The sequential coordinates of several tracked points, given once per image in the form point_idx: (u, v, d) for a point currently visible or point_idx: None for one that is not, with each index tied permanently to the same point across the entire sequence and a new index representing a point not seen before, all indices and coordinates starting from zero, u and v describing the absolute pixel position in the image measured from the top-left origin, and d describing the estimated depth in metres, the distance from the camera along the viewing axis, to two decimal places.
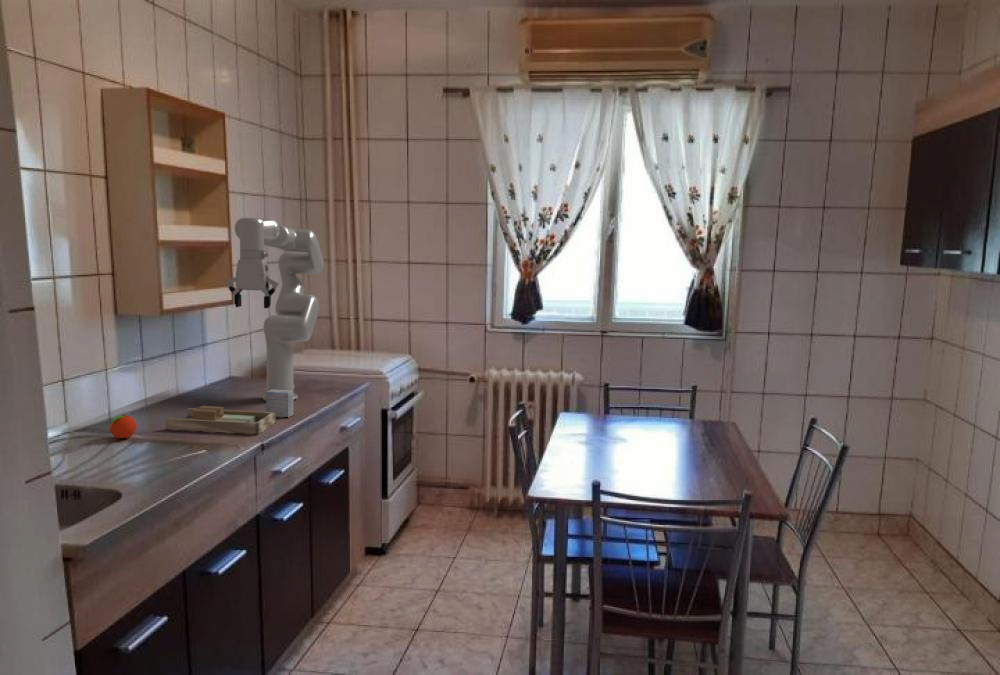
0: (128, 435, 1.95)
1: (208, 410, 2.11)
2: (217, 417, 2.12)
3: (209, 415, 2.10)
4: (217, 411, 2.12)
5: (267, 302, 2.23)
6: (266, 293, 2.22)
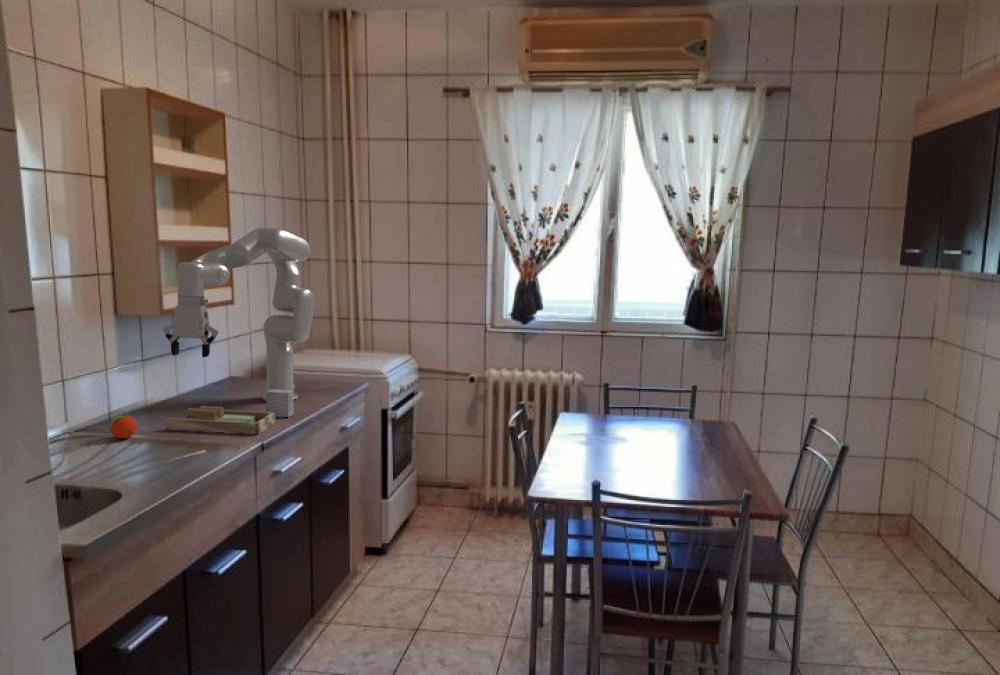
0: (128, 435, 1.95)
1: (208, 410, 2.11)
2: (217, 417, 2.12)
3: (209, 415, 2.10)
4: (217, 411, 2.12)
5: (206, 351, 2.11)
6: (205, 341, 2.11)
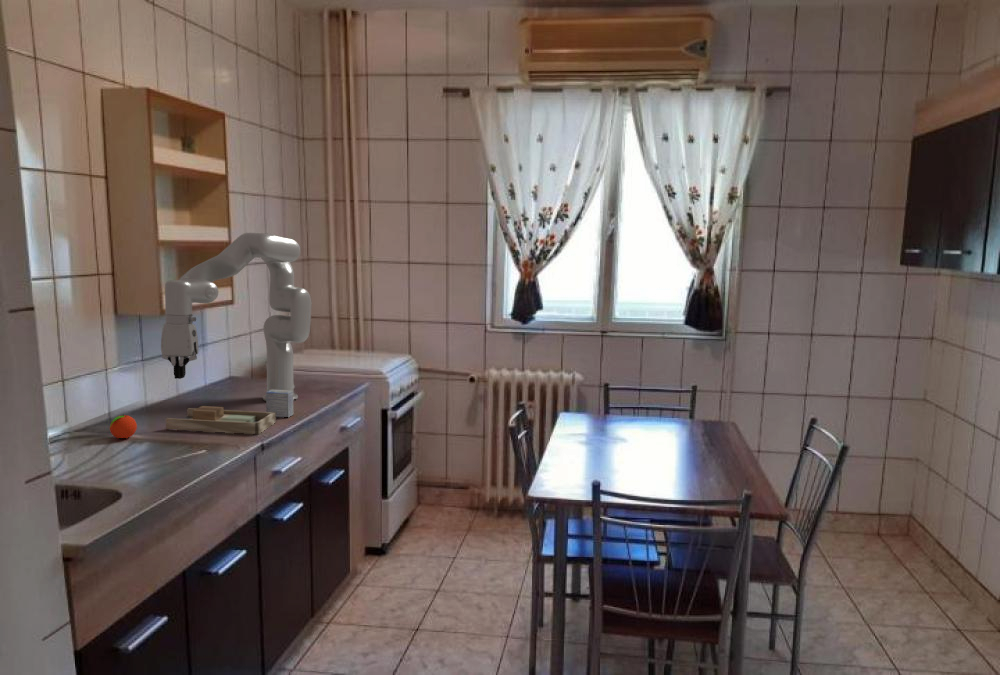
0: (128, 435, 1.95)
1: (208, 410, 2.11)
2: (217, 417, 2.12)
3: (209, 415, 2.10)
4: (217, 411, 2.12)
5: (181, 372, 2.10)
6: (181, 362, 2.10)
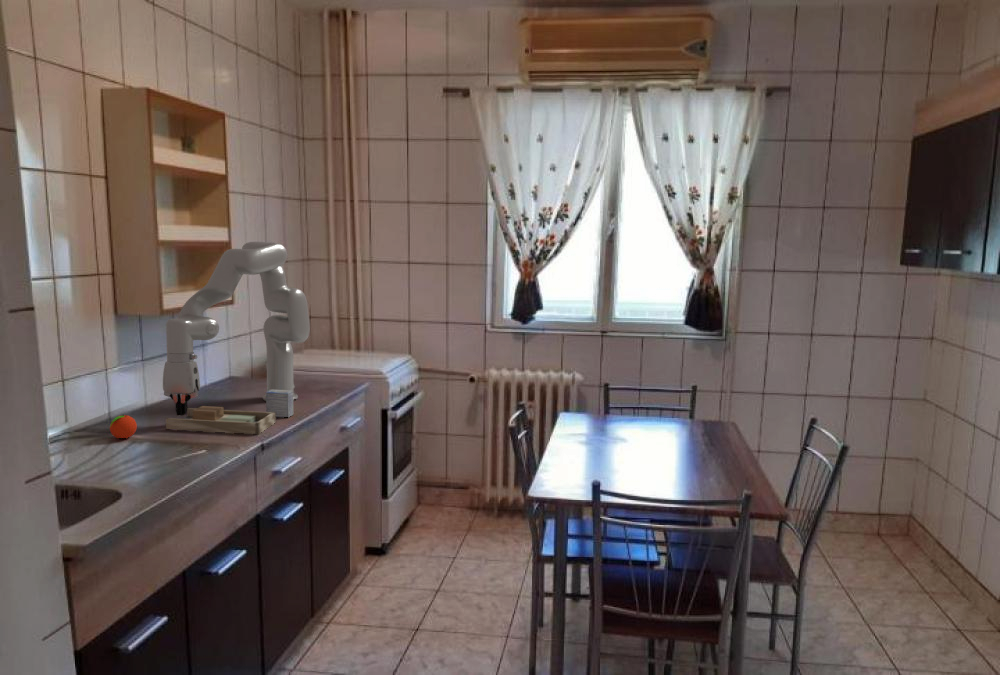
0: (128, 435, 1.95)
1: (208, 410, 2.11)
2: (217, 417, 2.12)
3: (209, 415, 2.10)
4: (217, 411, 2.12)
5: (183, 409, 2.12)
6: (183, 400, 2.12)
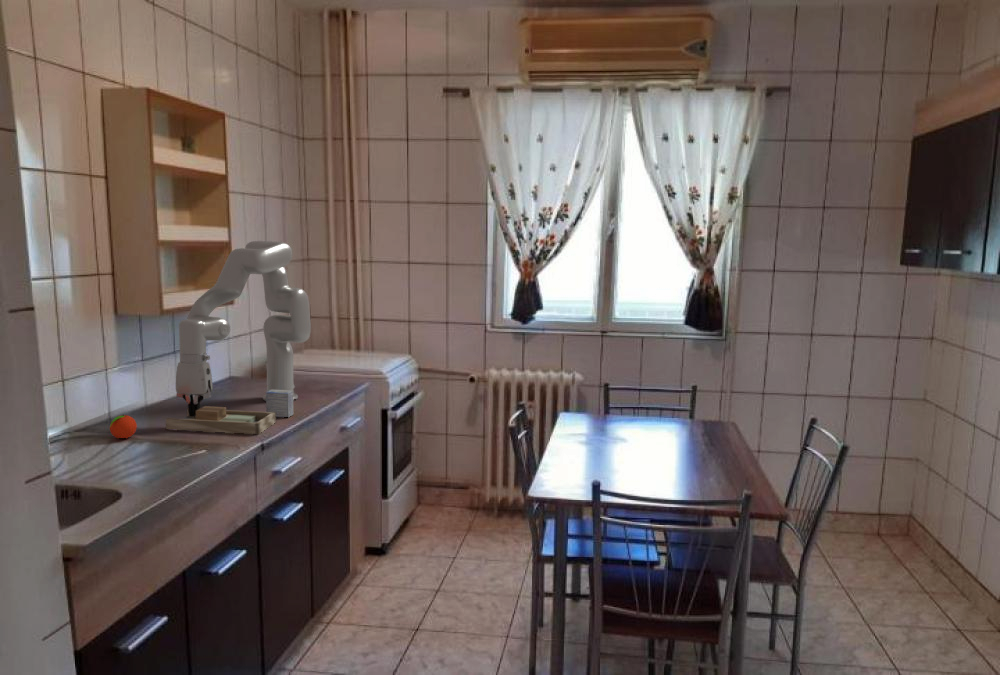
0: (128, 435, 1.95)
1: (211, 410, 2.11)
2: (220, 417, 2.12)
3: (212, 415, 2.10)
4: (220, 411, 2.12)
5: (195, 410, 2.12)
6: (195, 400, 2.11)
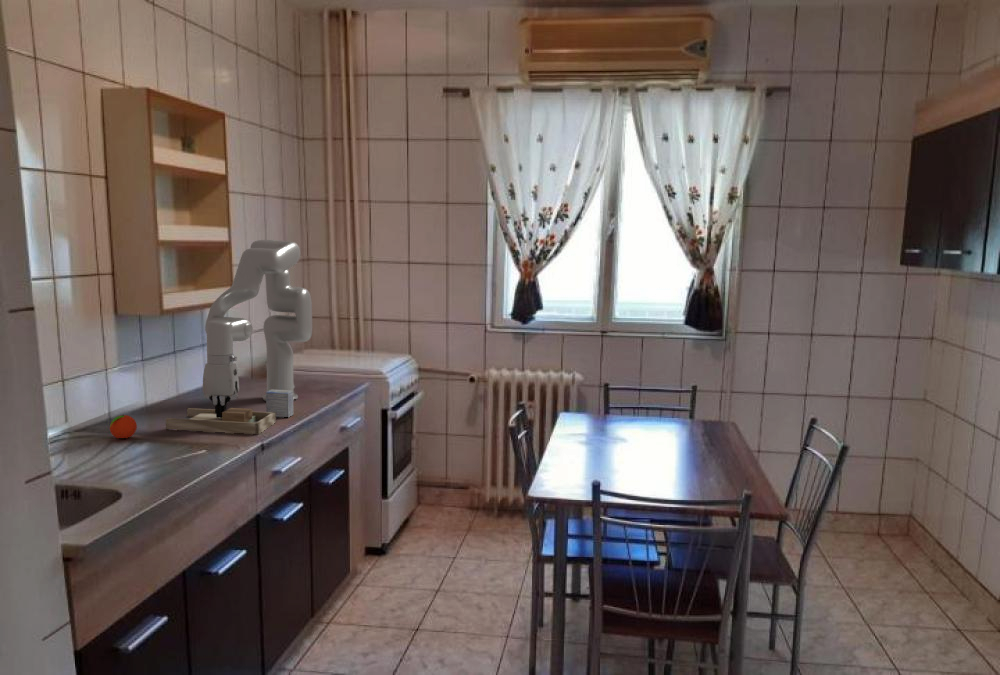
0: (128, 435, 1.95)
1: (237, 412, 2.10)
2: (246, 419, 2.11)
3: (239, 417, 2.09)
4: (246, 413, 2.11)
5: (222, 411, 2.12)
6: (222, 402, 2.11)
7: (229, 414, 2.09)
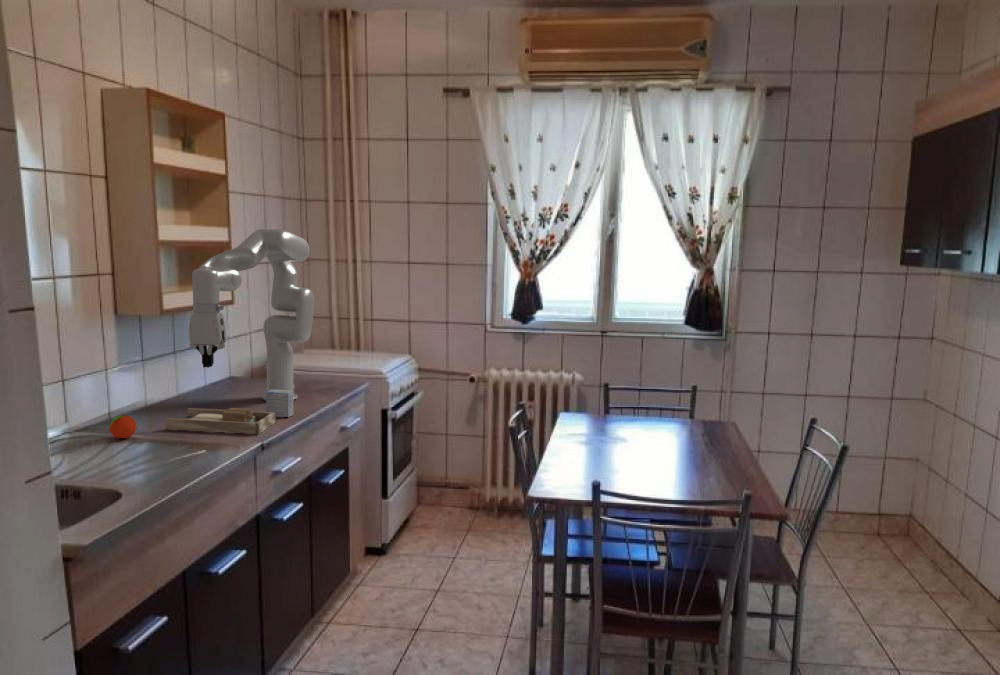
0: (128, 435, 1.95)
1: (238, 412, 2.10)
2: (246, 419, 2.11)
3: (239, 417, 2.09)
4: (246, 413, 2.11)
5: (209, 361, 2.10)
6: (209, 351, 2.09)
7: (229, 414, 2.09)
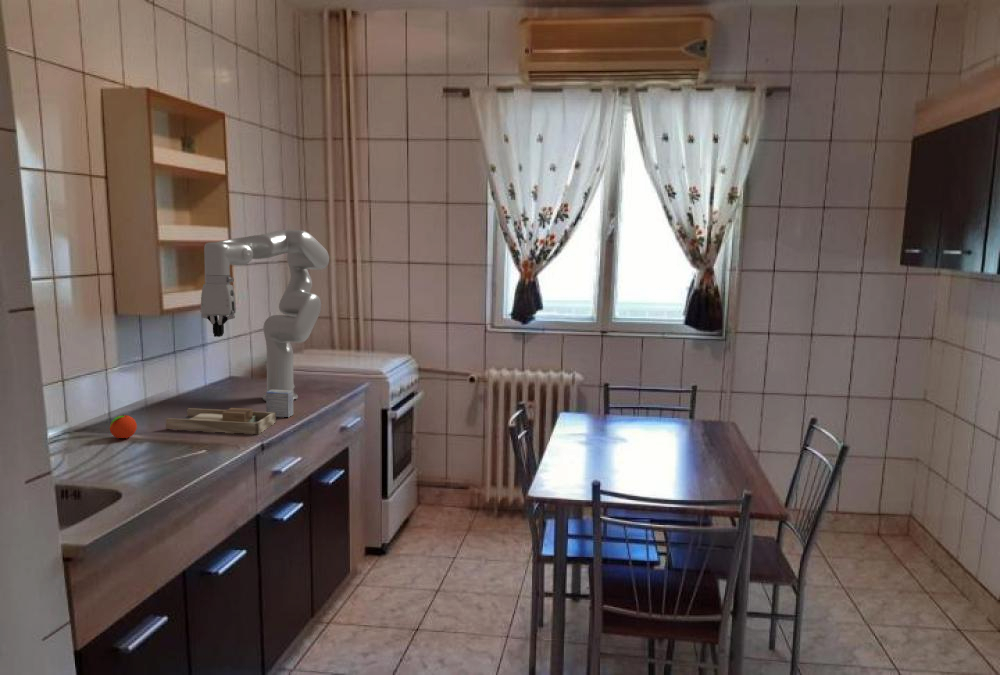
0: (128, 435, 1.95)
1: (238, 412, 2.10)
2: (246, 419, 2.11)
3: (239, 417, 2.09)
4: (246, 413, 2.11)
5: (220, 330, 2.21)
6: (220, 321, 2.20)
7: (229, 414, 2.09)
